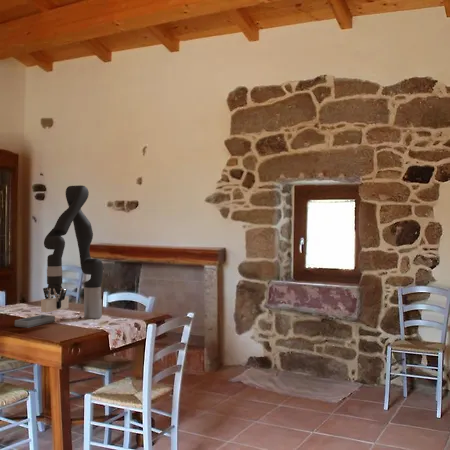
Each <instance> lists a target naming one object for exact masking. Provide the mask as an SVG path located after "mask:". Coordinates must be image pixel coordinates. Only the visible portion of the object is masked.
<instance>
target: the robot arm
mask: <svg viewBox="0 0 450 450" xmlns="http://www.w3.org/2000/svg"><path fill="white" fill-rule="evenodd" d="M88 198H89V190H88V187H86V186H85V185H81V184H79V185H69V186H67V187H66V189H65V199H66V202H67V206H68V207H67V209H66V210H64V211H63V212H62V213H61V214H60V215H59V216H58V218H57V221H56V223H55V225H54V227H53V228H52V229H51V230H50V231H49V232H48V233H47V235H46V236H44V237H45V238H44V240H43V246H44V248H45V249H47V250H51V251H52V250H53V252H52V254H49V255H47V259H46V261H47V265H46V266H47V267H46V284H47V287H44V288H42V290H43V295H44V299H49V298H55V297H56V300H57V309H60V308H61V301H62V300H64V299H65V296H66V295H67V294H66V293H67V288H63V286H62V284H63V265H62V264H63V261H62V258H63V255H64V250H65V247H66V242H65V239H64V237H63V236H66V234H67V233H68V232H69V229H70V227H71V225H72V224H73V228H74V233H75V237H76V241H77V247H78V253H79V262H80V269H81V271H82V272H83V274H84V275H89V276H90V277H89V280H86V281H85V282H84V284H83V292H84V293H83V298H84V299H83V318H84V319H88V320H89V319H90V320H91V319H94V320H95V319H100V318H101V317H102V316H103V299H102V282H103V277H104V276H103V273H104V265H103V261H102V260H101V259H100V258H94V257H93V258H92V257H91V253H90V252H91V251H90V247H91V244H92V241H93V238H94V233H93V231H94V230H93V227H92V224H91V222H90V220H89V219H88V217H87V216H86V215H85V213H84V212H83V210H82V207H83V206H84V204H85V203H86V202H87V200H88Z"/></svg>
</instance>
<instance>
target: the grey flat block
mask: <svg viewBox="0 0 450 450" xmlns="http://www.w3.org/2000/svg"><path fill="white" fill-rule="evenodd" d="M55 316H56V315H50V314H49V315H48V314H39V315H34V316H29V317H25V318H20V319H15V320H14V327H19V328H27V329H28V328H29V329H30V328H33V327H37V326H40V325H45V324H51V323H54V322H55V319H56V317H55Z"/></svg>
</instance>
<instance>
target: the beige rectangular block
mask: <svg viewBox="0 0 450 450" xmlns="http://www.w3.org/2000/svg"><path fill="white" fill-rule="evenodd" d="M66 309H67V310H68V309H69V296H66V295H65V299H64V300H62V301H61V308H60V309H57V300H56V297H55V296H54V297H53V298H49V299H45V298H44V299H43V298H42V299H40V311H41V313H50V312H55V311H61V310H66Z"/></svg>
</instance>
